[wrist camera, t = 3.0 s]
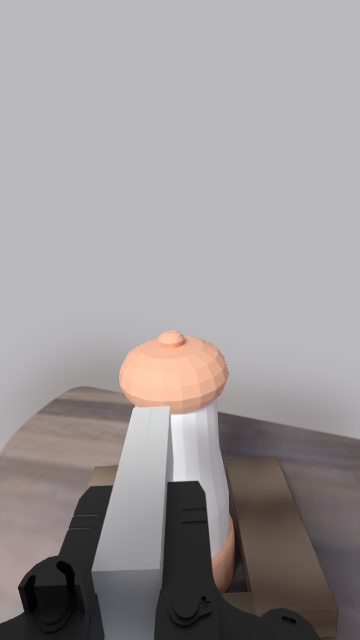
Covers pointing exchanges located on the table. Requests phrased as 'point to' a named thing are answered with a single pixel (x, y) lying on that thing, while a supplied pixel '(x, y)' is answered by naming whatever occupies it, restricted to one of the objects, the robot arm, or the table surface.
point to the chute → (269, 545)
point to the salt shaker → (189, 424)
